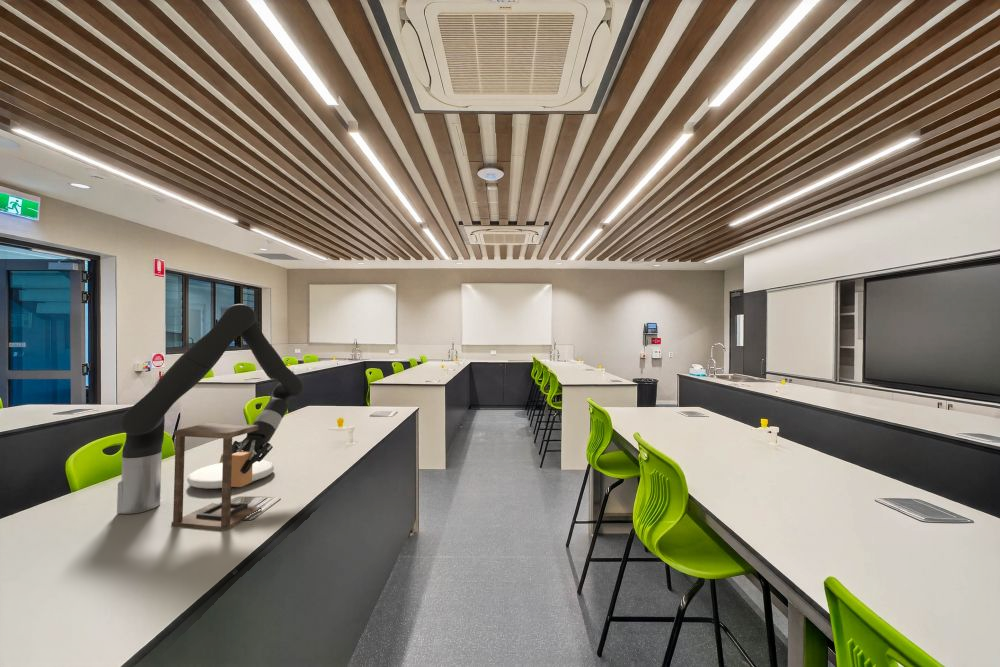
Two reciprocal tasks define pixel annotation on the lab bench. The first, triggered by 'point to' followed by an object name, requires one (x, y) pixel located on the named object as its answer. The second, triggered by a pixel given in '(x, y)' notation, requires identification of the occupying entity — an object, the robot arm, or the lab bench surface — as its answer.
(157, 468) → the robot arm
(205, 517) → the walnut shelf
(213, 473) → the plate
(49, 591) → the lab bench surface
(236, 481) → the terracotta block
